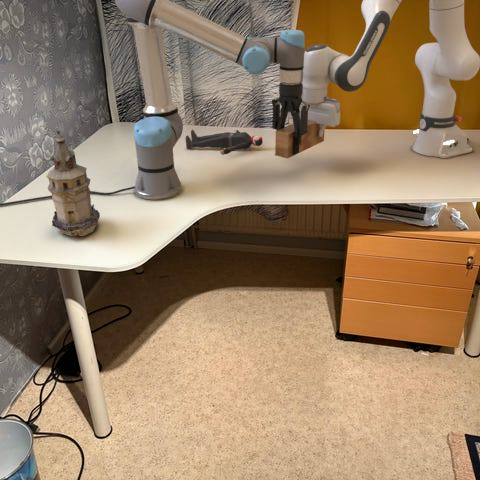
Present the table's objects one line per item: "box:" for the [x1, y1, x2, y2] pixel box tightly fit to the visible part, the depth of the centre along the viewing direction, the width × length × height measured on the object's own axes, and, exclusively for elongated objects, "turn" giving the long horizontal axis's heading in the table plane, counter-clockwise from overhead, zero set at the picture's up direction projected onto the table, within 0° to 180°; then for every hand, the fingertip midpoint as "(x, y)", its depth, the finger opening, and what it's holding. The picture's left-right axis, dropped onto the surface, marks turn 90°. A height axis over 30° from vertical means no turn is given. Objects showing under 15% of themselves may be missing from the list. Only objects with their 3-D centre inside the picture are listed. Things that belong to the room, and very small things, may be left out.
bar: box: [274, 120, 326, 160], centre depth 184 cm, size 22×5×8 cm, turn 140°
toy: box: [185, 129, 264, 156], centre depth 213 cm, size 26×6×30 cm
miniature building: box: [46, 129, 101, 237], centre depth 148 cm, size 13×14×30 cm
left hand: (288, 151), depth 181 cm, fingers closed on bar, 5 cm apart
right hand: (311, 134), depth 189 cm, fingers closed on bar, 5 cm apart
